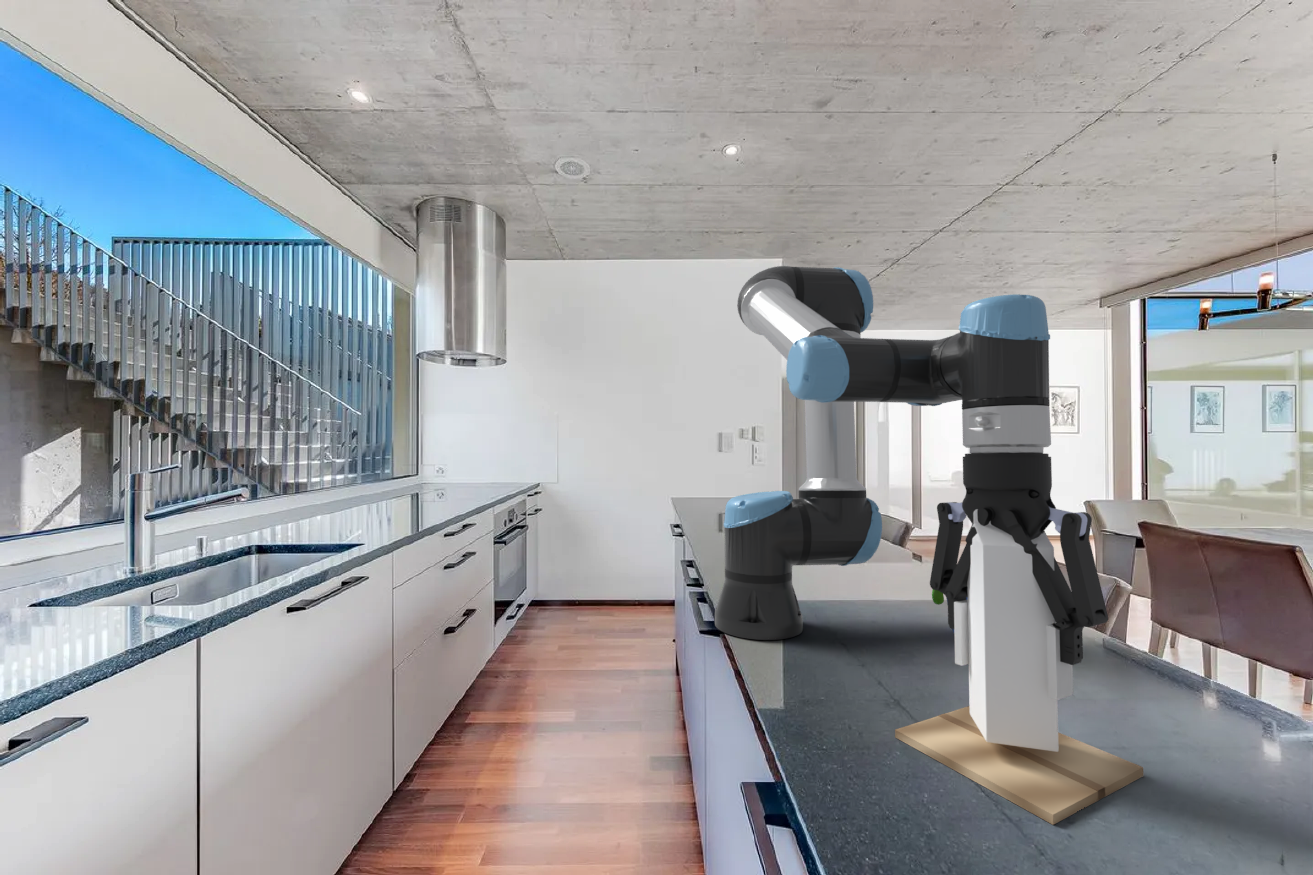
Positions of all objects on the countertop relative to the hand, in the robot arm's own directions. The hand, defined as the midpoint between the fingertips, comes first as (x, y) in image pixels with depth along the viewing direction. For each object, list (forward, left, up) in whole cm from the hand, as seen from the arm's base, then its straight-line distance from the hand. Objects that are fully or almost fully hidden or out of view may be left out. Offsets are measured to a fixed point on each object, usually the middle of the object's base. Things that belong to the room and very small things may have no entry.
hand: (1009, 677), depth 53 cm
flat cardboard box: (0, 0, -8) cm, 8 cm away
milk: (0, 0, -6) cm, 6 cm away
